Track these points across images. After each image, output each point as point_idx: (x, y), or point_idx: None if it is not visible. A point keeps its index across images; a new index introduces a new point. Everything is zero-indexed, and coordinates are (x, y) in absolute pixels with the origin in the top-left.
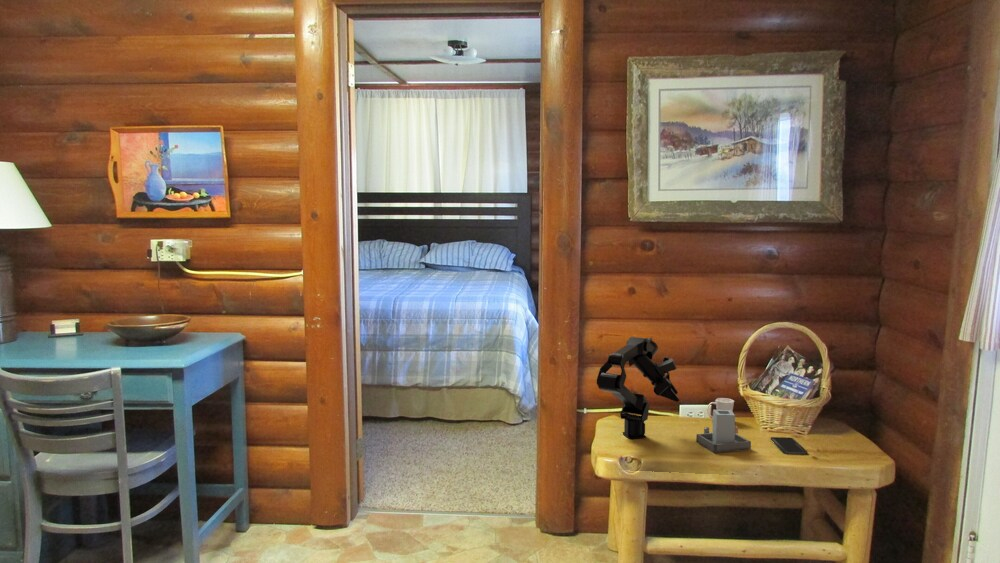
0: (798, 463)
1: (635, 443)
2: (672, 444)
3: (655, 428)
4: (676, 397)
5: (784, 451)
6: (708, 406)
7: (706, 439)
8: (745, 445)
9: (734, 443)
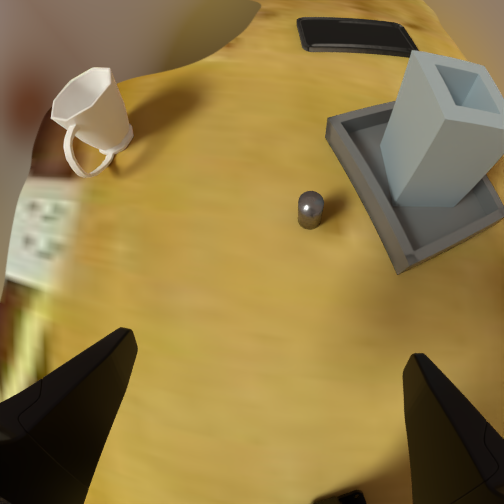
0: (464, 60)
1: None
2: None
3: (214, 439)
4: (447, 386)
5: None
6: (75, 160)
7: (464, 232)
8: None
9: None
